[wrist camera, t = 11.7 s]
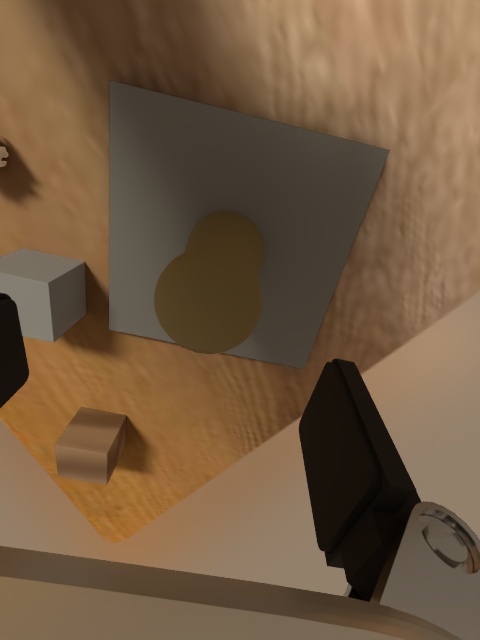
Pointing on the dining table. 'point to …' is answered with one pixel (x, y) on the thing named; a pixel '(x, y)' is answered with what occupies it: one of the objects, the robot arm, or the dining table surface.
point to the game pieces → (3, 156)
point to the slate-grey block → (44, 291)
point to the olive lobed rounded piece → (213, 285)
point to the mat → (232, 209)
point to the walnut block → (91, 446)
